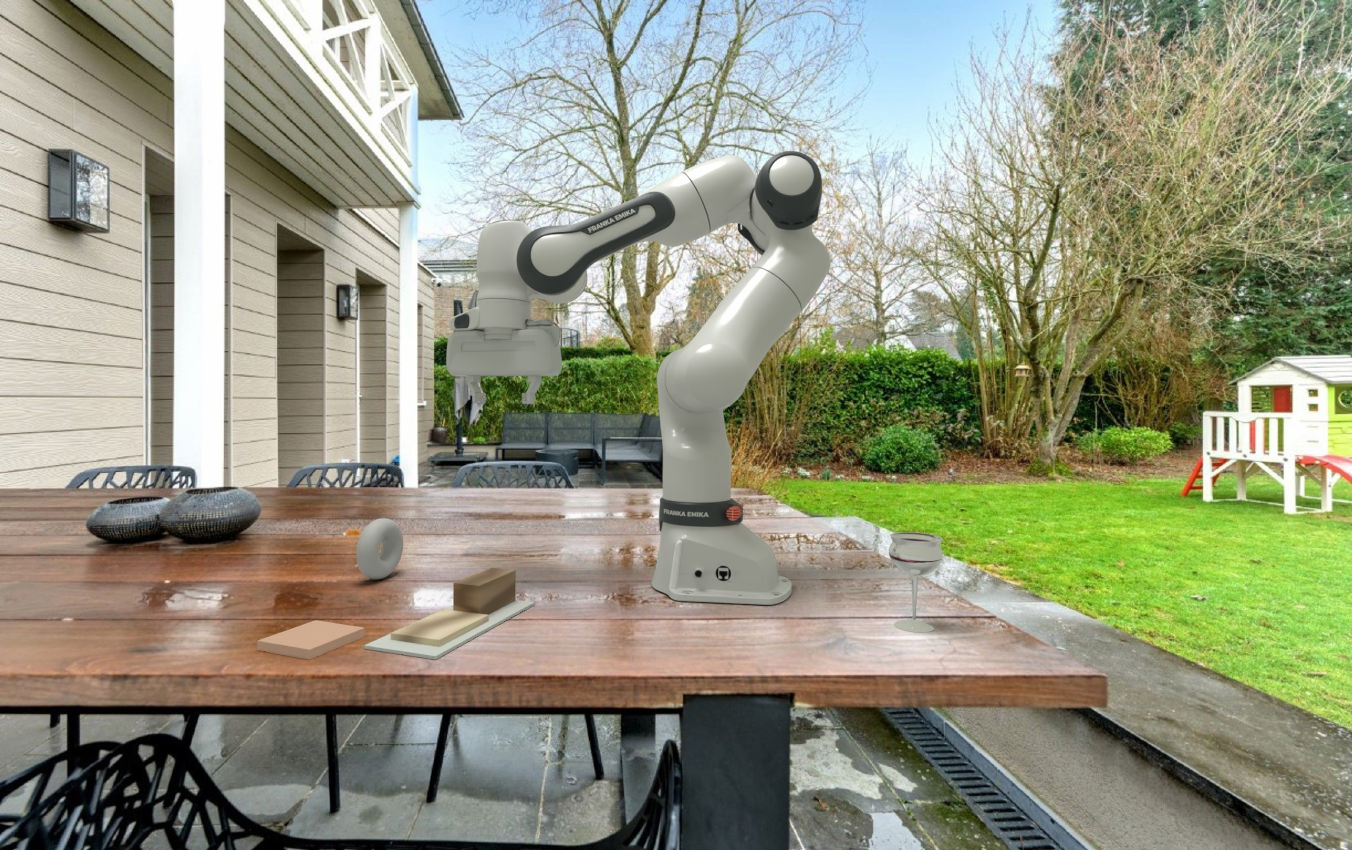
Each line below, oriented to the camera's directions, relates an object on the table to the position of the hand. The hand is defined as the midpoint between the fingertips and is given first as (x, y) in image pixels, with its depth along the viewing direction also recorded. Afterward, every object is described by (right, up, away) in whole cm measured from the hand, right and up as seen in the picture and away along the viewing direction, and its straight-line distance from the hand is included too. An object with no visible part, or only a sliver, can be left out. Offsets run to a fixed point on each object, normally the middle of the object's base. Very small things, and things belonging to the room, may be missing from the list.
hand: (503, 403), depth 110 cm
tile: (-13, -29, -27) cm, 42 cm away
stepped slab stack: (+1, -29, -22) cm, 37 cm away
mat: (0, -30, -24) cm, 38 cm away
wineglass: (+61, -31, -22) cm, 71 cm away
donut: (-20, -29, -1) cm, 35 cm away
